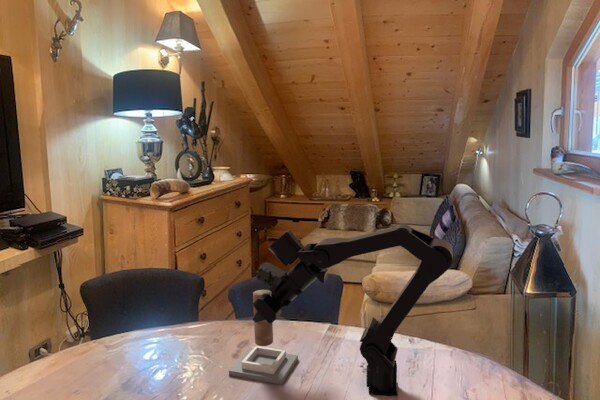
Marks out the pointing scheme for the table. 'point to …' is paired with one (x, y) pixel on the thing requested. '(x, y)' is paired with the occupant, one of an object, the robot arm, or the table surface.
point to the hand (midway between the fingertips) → (258, 316)
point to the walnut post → (262, 324)
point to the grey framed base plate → (264, 365)
